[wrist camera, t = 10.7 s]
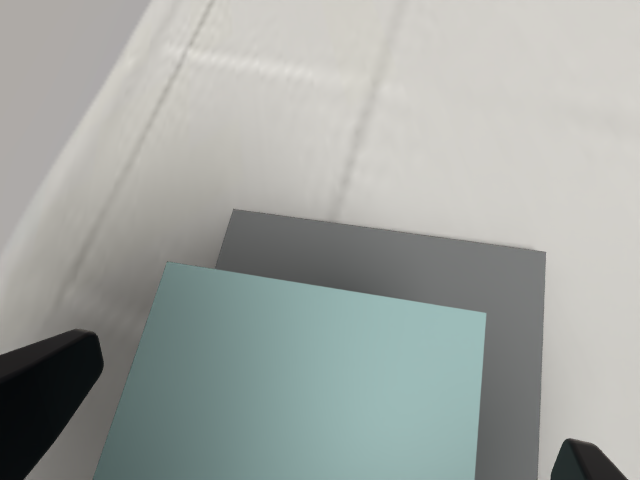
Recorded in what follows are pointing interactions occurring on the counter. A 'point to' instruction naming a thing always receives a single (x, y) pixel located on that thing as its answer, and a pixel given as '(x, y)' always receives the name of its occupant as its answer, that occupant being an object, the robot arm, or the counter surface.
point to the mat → (432, 288)
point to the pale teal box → (296, 385)
